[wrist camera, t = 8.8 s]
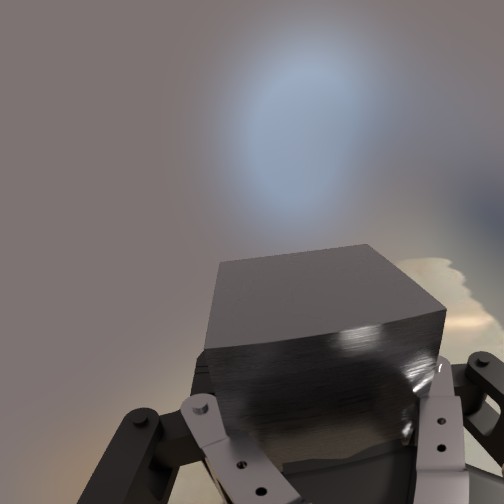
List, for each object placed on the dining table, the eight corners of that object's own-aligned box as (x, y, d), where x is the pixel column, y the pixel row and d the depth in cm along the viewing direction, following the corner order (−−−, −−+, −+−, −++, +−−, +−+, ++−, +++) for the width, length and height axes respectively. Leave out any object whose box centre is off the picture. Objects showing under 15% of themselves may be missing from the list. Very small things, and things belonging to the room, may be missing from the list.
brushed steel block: (254, 524, 10) (203, 349, 7) (250, 432, 16) (219, 262, 13) (389, 499, 10) (446, 308, 7) (357, 415, 16) (366, 243, 13)
